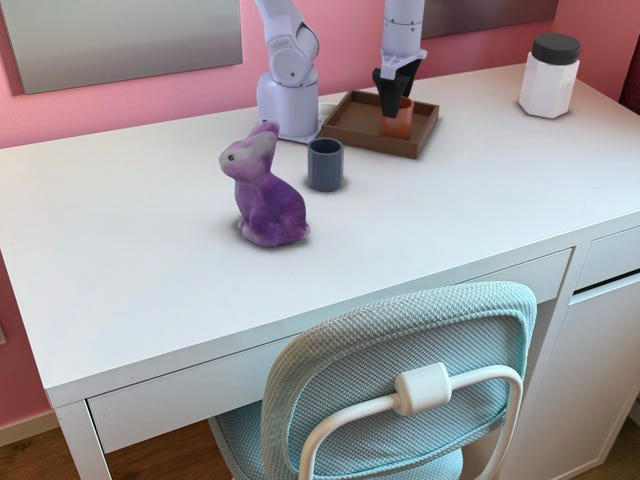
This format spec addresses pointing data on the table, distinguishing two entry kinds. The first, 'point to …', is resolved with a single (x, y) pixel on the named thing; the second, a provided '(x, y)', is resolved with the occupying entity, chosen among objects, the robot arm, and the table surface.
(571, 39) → the jar
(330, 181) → the blue cup
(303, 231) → the figurine
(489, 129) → the table surface
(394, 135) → the orange cup
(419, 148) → the tray
